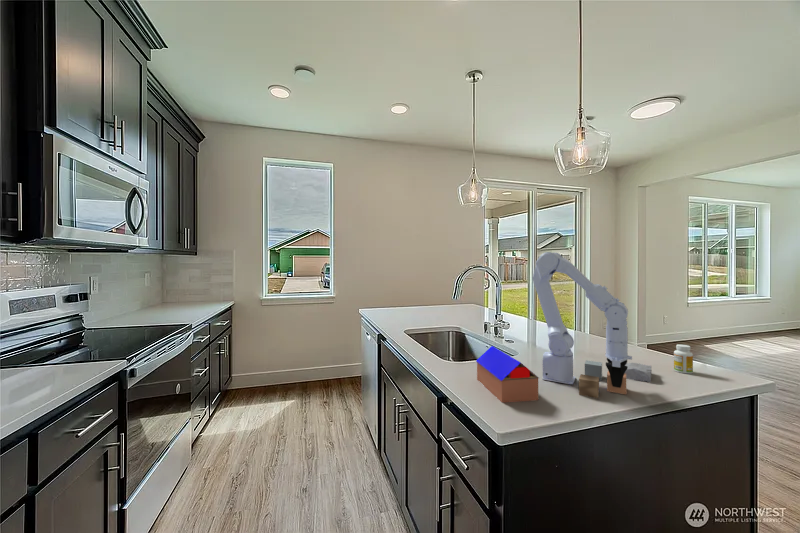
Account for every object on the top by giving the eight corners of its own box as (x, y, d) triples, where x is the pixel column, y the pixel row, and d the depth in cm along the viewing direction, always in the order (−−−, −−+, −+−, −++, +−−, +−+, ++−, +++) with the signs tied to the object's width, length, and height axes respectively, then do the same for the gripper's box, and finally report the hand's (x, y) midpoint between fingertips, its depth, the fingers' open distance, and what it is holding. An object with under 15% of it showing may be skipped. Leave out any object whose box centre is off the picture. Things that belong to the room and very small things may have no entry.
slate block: (584, 377, 117) (584, 363, 117) (586, 374, 121) (585, 360, 121) (601, 380, 114) (601, 366, 114) (602, 376, 118) (602, 362, 118)
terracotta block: (607, 391, 104) (607, 375, 104) (607, 386, 109) (607, 370, 108) (626, 394, 102) (626, 378, 102) (626, 389, 106) (626, 373, 106)
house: (508, 377, 118) (508, 345, 117) (540, 401, 98) (539, 361, 98) (475, 379, 116) (475, 346, 116) (501, 403, 96) (501, 363, 96)
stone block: (618, 383, 117) (654, 383, 111) (615, 369, 117) (650, 368, 111) (621, 375, 126) (653, 374, 120) (618, 362, 127) (650, 361, 121)
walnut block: (578, 395, 102) (578, 378, 102) (580, 389, 106) (580, 374, 106) (598, 398, 99) (597, 381, 99) (599, 393, 103) (598, 377, 103)
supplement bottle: (691, 370, 123) (691, 344, 123) (694, 375, 118) (694, 348, 118) (672, 368, 126) (672, 343, 126) (675, 372, 121) (675, 346, 121)
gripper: (632, 347, 97) (632, 394, 97) (631, 338, 109) (631, 379, 109) (604, 344, 101) (604, 389, 101) (606, 335, 113) (606, 375, 113)
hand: (616, 384), depth 105 cm, fingers closed on terracotta block, 5 cm apart
